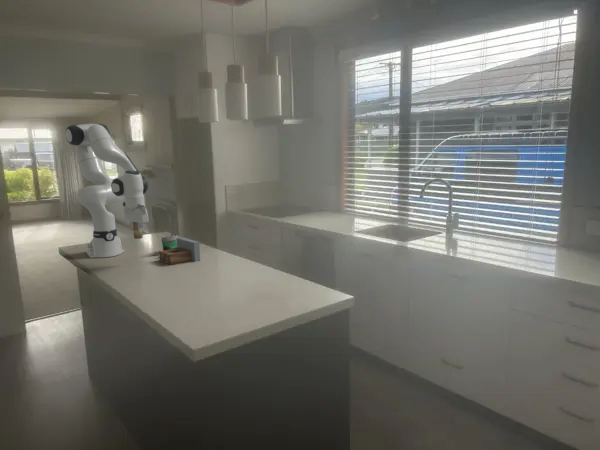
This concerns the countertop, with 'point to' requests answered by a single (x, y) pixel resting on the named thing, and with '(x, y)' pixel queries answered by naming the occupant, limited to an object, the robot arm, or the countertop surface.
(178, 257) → the block
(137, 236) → the dowel
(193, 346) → the countertop surface
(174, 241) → the green rounded container
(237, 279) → the countertop surface
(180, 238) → the wall
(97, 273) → the countertop surface
